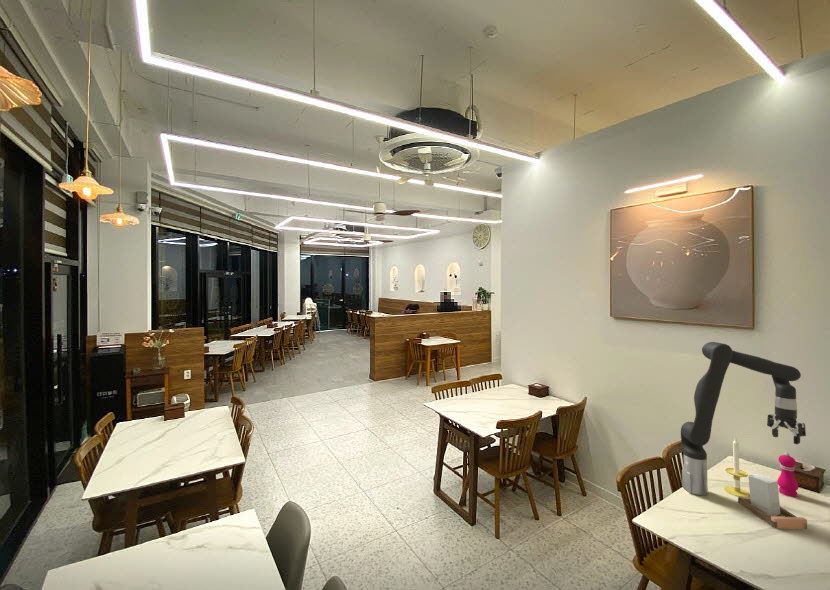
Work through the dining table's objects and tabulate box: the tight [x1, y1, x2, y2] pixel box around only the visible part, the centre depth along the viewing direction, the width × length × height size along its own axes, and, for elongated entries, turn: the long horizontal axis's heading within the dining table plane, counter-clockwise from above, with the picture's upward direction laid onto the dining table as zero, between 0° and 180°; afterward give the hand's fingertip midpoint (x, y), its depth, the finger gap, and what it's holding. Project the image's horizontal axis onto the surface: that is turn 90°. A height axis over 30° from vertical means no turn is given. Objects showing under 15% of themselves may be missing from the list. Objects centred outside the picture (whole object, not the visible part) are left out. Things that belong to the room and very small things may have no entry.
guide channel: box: [737, 496, 808, 530], centre depth 160 cm, size 12×19×2 cm, turn 175°
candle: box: [723, 437, 750, 498], centre depth 179 cm, size 10×10×27 cm
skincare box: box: [747, 473, 781, 517], centre depth 163 cm, size 8×6×15 cm
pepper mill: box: [776, 452, 799, 498], centre depth 176 cm, size 7×7×20 cm
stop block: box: [771, 516, 808, 530], centre depth 151 cm, size 12×2×4 cm, turn 85°
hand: (785, 440), depth 175 cm, fingers open, 8 cm apart
